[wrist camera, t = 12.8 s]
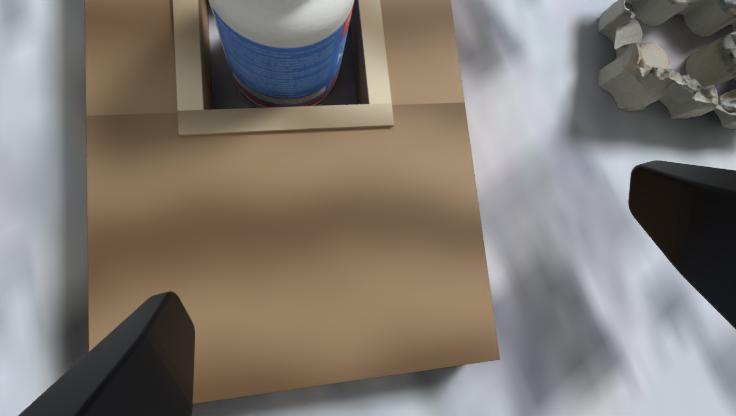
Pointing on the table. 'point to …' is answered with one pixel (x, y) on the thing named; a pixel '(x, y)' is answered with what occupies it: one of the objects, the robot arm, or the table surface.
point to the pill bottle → (283, 47)
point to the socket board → (287, 203)
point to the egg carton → (651, 64)
